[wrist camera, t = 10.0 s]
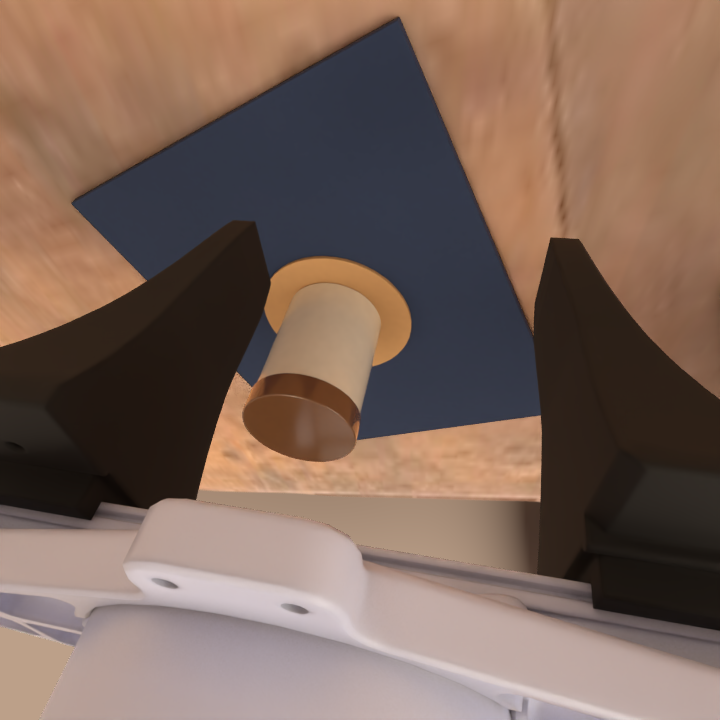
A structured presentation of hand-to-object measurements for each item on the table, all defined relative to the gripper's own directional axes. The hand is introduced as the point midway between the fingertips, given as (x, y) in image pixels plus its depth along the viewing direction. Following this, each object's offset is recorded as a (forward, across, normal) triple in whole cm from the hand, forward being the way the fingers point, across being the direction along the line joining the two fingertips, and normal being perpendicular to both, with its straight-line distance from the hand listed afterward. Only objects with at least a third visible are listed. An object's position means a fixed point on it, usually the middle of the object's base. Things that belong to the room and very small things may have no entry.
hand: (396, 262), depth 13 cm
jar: (+9, +5, +11) cm, 15 cm away
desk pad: (+9, +5, +11) cm, 15 cm away
